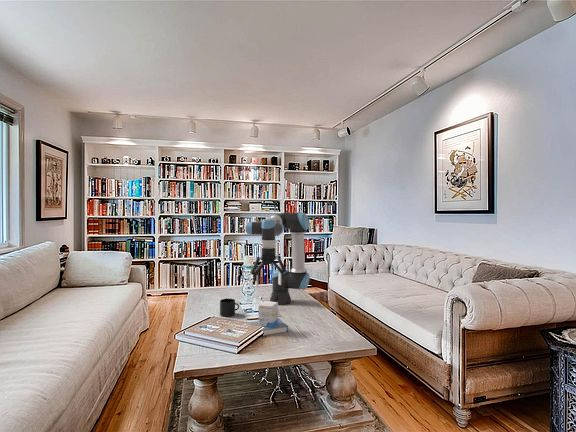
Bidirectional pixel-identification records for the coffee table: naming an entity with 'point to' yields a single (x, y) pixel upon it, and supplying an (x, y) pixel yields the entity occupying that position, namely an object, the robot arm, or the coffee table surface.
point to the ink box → (268, 314)
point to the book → (273, 328)
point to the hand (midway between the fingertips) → (268, 285)
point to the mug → (227, 307)
